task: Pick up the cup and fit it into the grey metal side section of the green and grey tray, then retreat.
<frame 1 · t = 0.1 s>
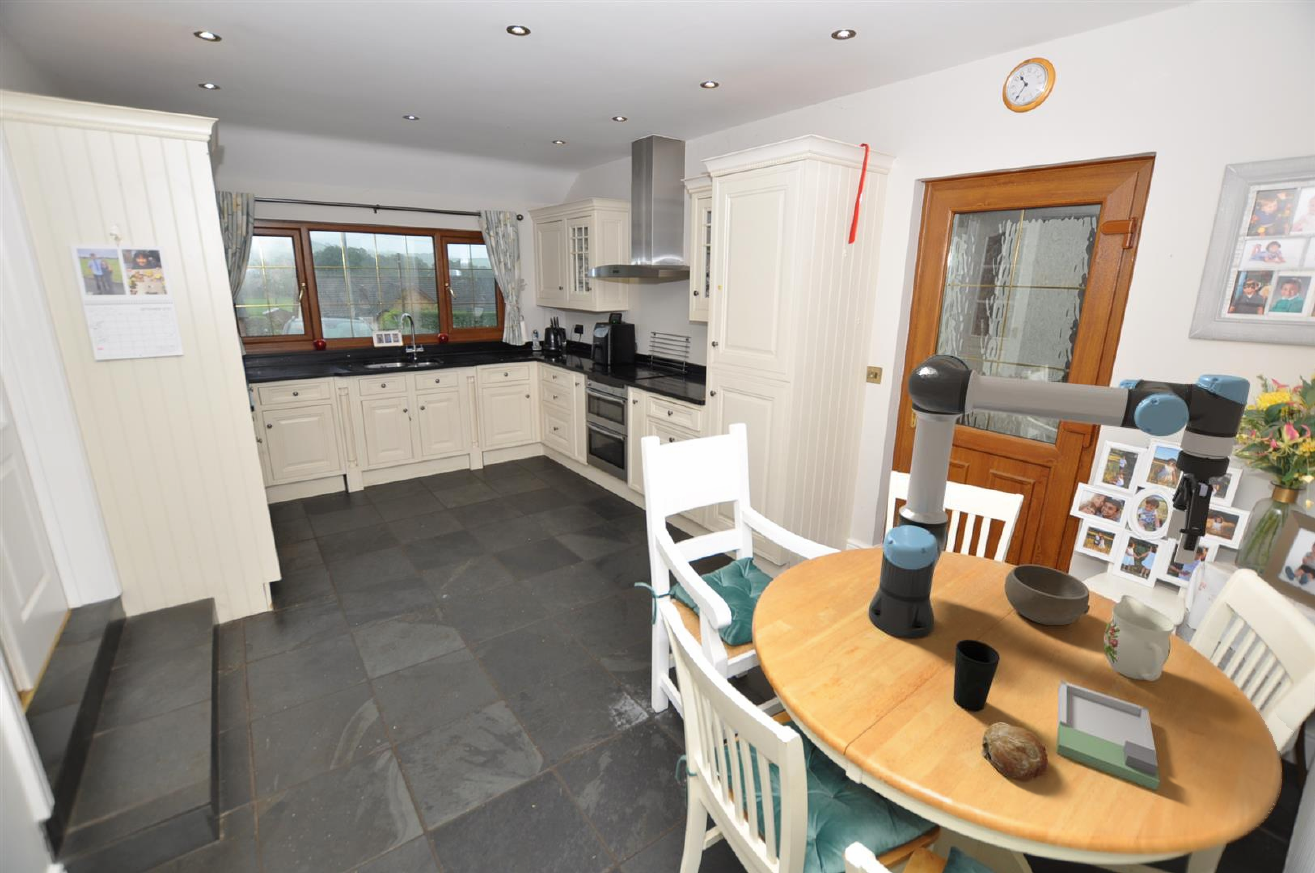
hand: (1178, 550, 121), 28 cm above the table, fingers open, 13 cm apart
green and grey tray: (1104, 759, 103), on the table
pitcher: (1130, 672, 126), on the table
bread roll: (1012, 759, 104), on the table
bowl: (1040, 615, 147), on the table
cup: (968, 702, 117), on the table
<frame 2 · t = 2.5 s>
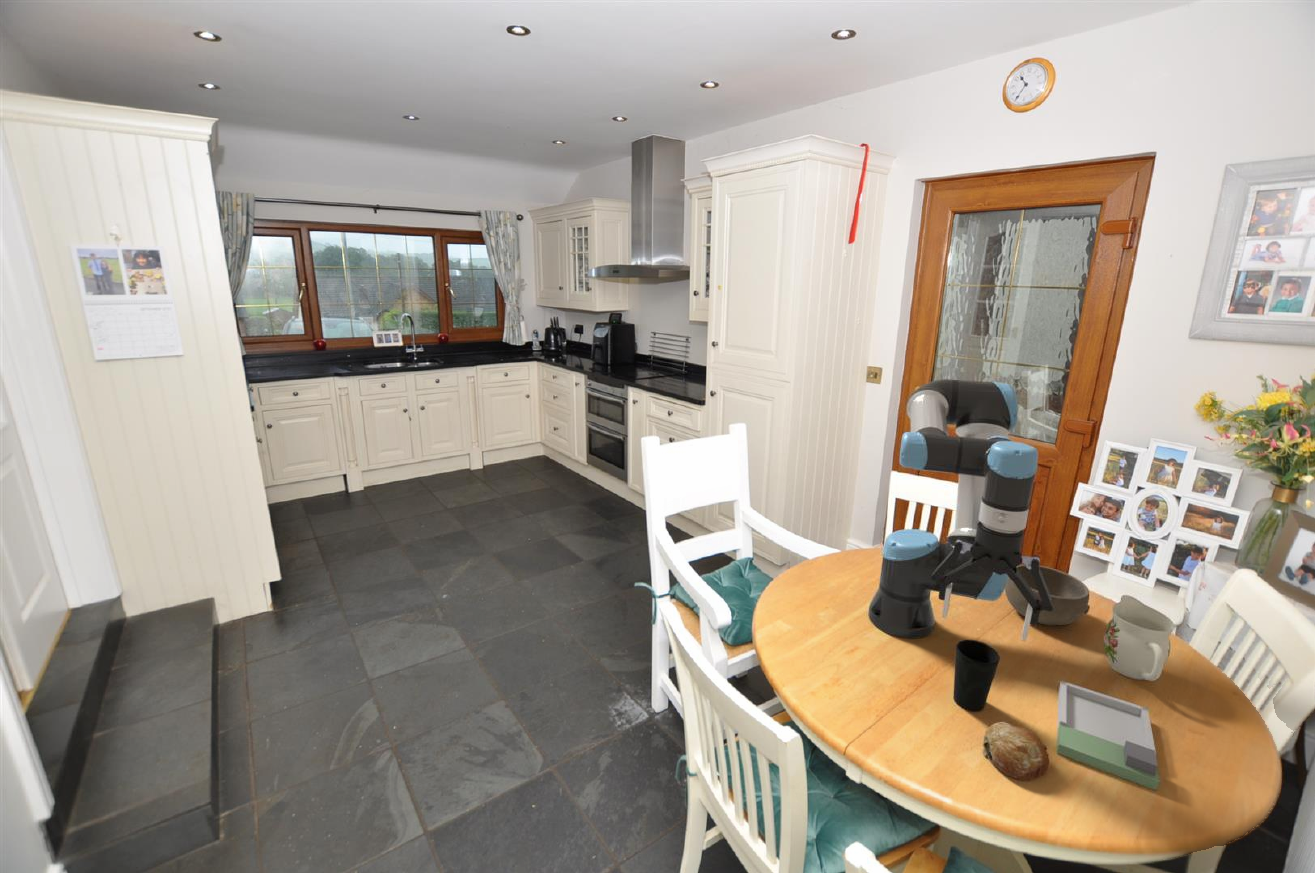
hand: (983, 625, 112), 18 cm above the table, fingers open, 13 cm apart
nothing on the table moved.
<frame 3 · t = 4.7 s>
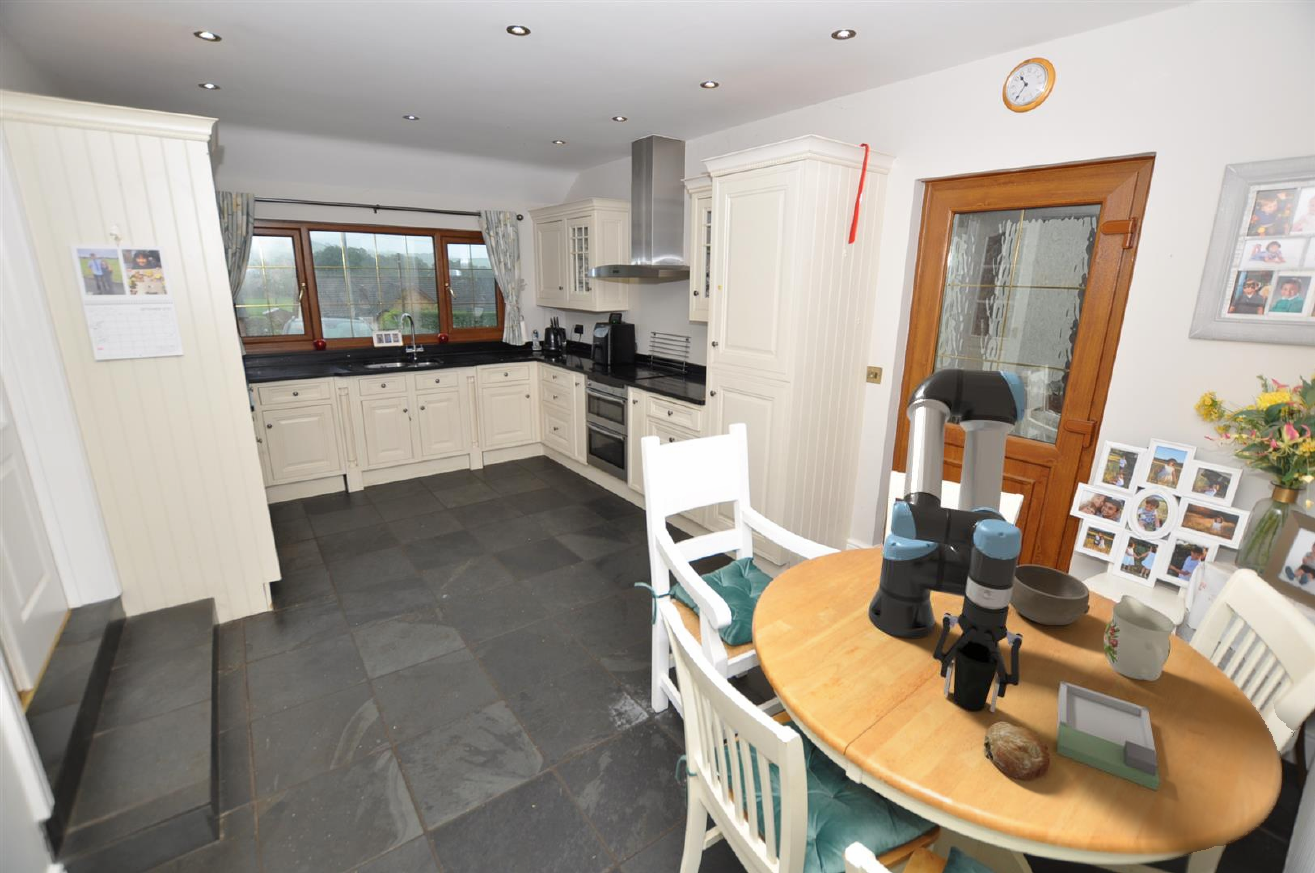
hand: (969, 698, 117), 1 cm above the table, fingers closed on cup, 8 cm apart
cup: (968, 702, 117), on the table, touching gripper
everything else where it was.
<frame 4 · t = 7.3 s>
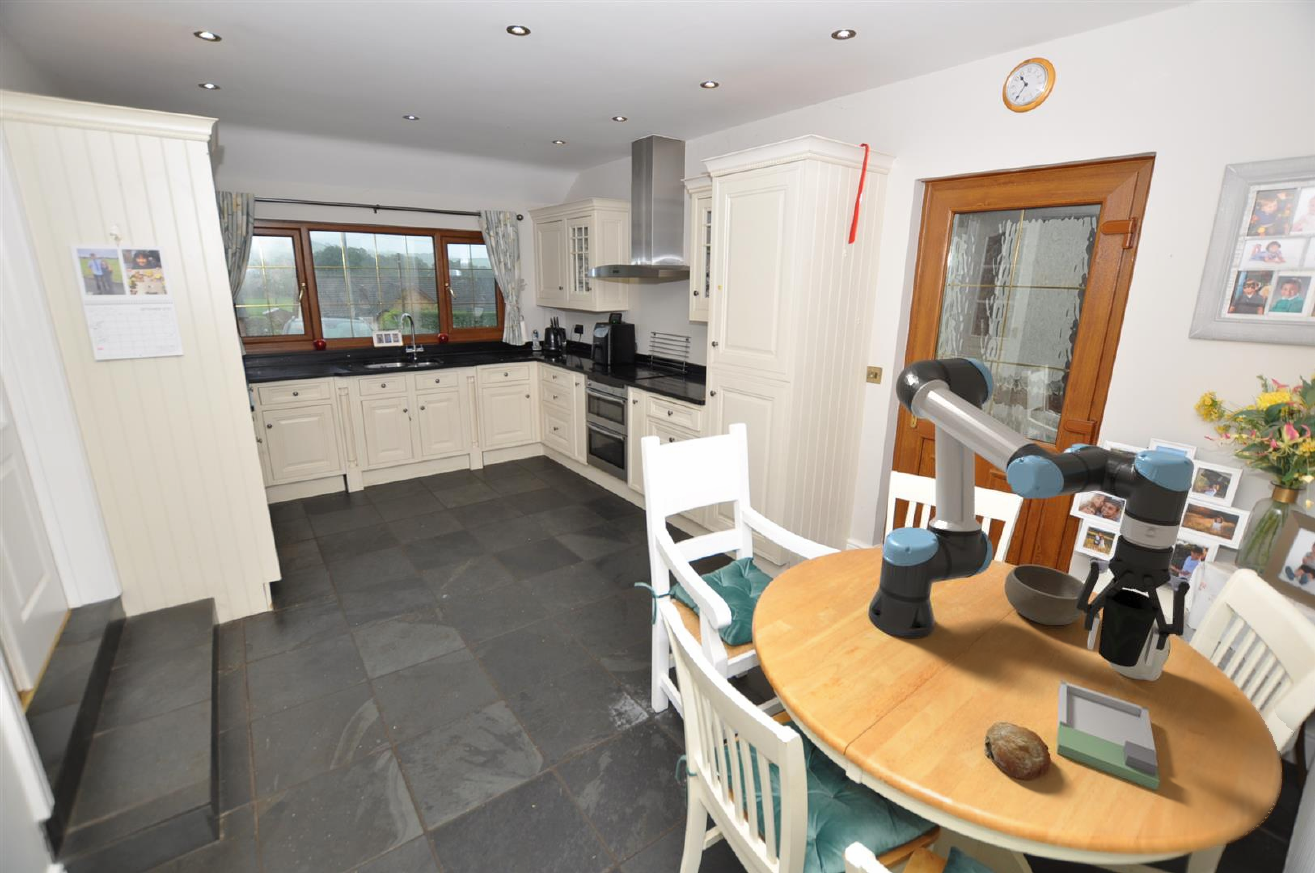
hand: (1118, 653, 106), 16 cm above the table, fingers closed on cup, 8 cm apart
cup: (1117, 657, 106), point 16 cm above the table, touching gripper
everything else where it was.
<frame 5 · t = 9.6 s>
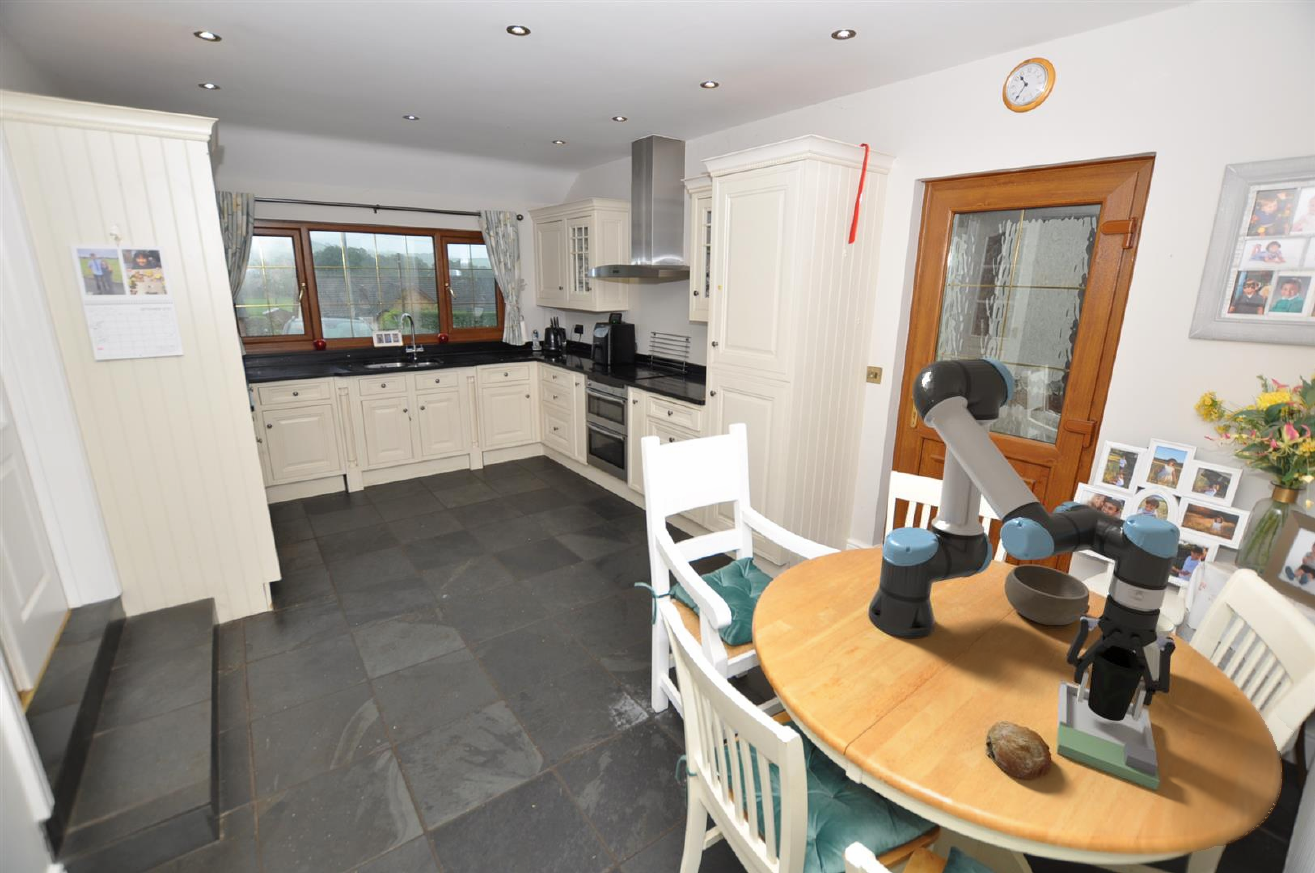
hand: (1106, 706, 110), 5 cm above the table, fingers closed on cup, 8 cm apart
cup: (1105, 710, 110), point 4 cm above the table, touching gripper
everything else where it was.
when the fingers open (4 cm above the table, at t = 10.0 s): cup drops 3 cm, resting on green and grey tray.
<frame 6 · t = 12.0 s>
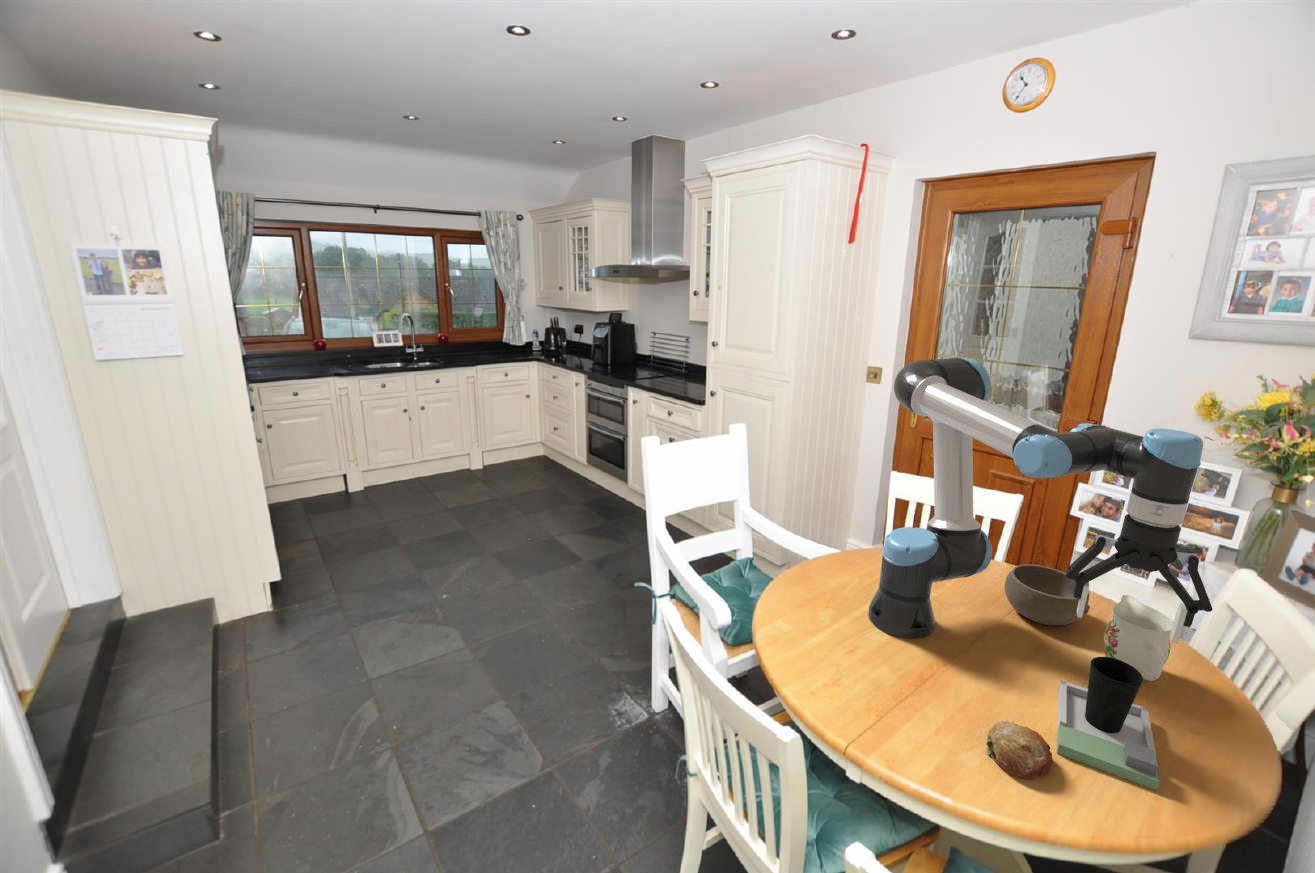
hand: (1124, 626, 105), 22 cm above the table, fingers open, 13 cm apart
cup: (1102, 722, 111), point 1 cm above the table, touching green and grey tray
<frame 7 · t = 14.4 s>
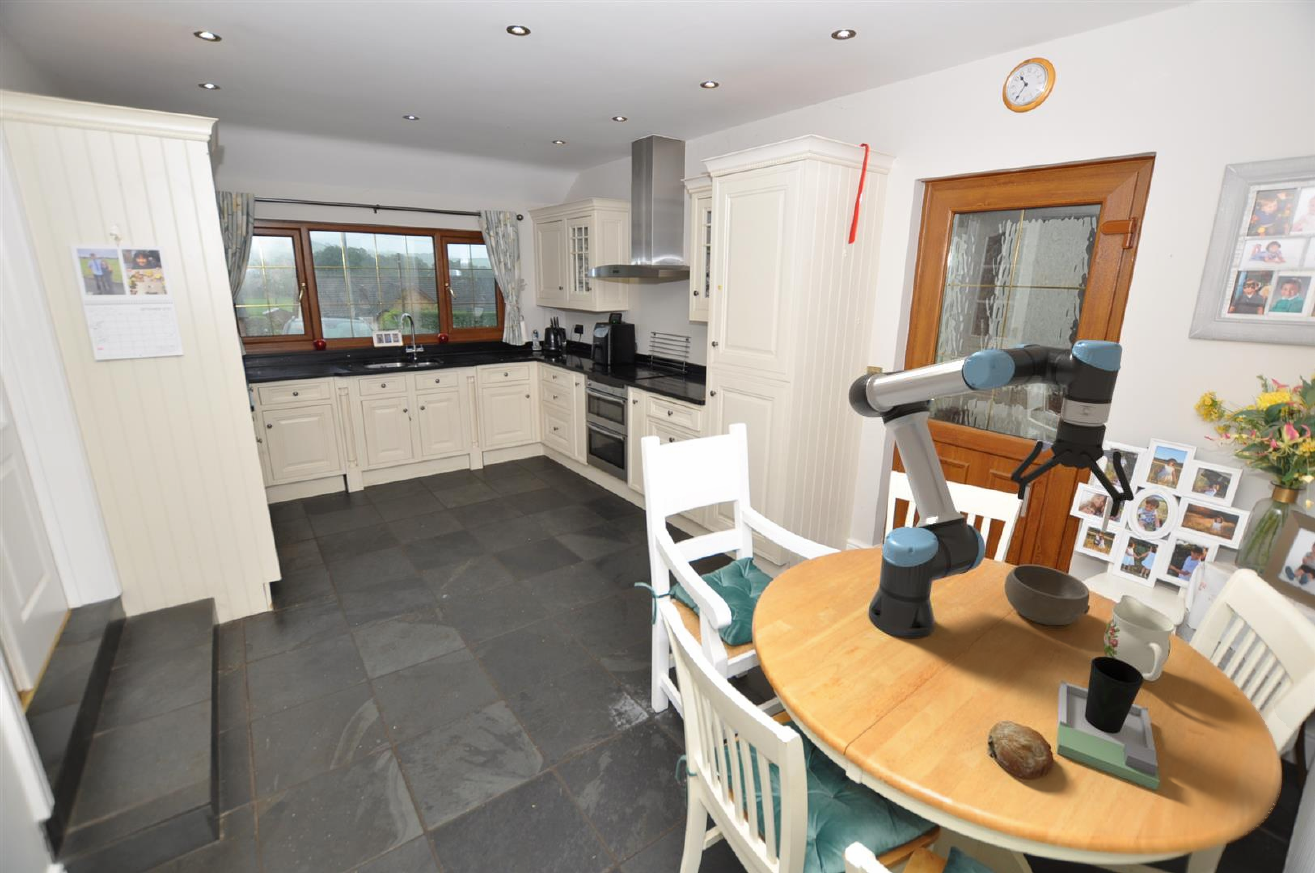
hand: (1061, 522, 118), 35 cm above the table, fingers open, 13 cm apart
at the end: cup inside the target area on the green and grey tray (0.1 cm from its centre), point 0.9 cm above the green and grey tray's base; cup tilted 1°; the gripper is holding nothing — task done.
